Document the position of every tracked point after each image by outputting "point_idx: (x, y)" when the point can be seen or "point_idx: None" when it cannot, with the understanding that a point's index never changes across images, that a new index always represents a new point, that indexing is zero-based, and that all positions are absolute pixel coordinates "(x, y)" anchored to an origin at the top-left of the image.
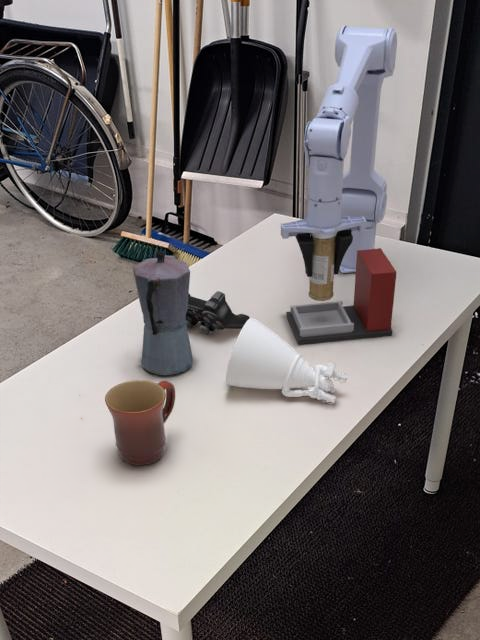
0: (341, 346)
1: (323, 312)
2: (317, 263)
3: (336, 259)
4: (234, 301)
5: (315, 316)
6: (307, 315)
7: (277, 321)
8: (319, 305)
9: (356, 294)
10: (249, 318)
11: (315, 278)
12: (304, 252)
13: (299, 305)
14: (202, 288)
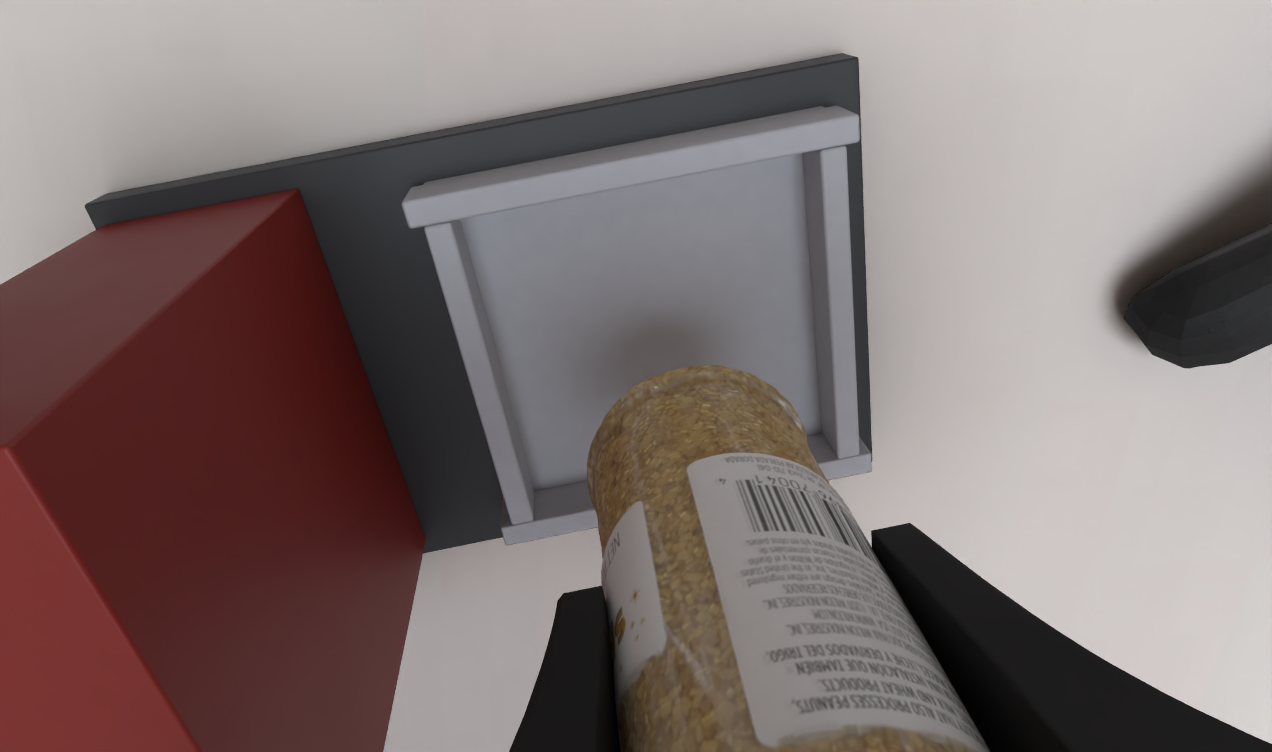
0: (507, 26)
1: None
2: (889, 637)
3: (602, 743)
4: (1111, 591)
5: None
6: None
7: (922, 388)
8: None
9: (390, 570)
10: (1179, 311)
11: (829, 504)
12: (1253, 749)
13: None
14: (1228, 696)
